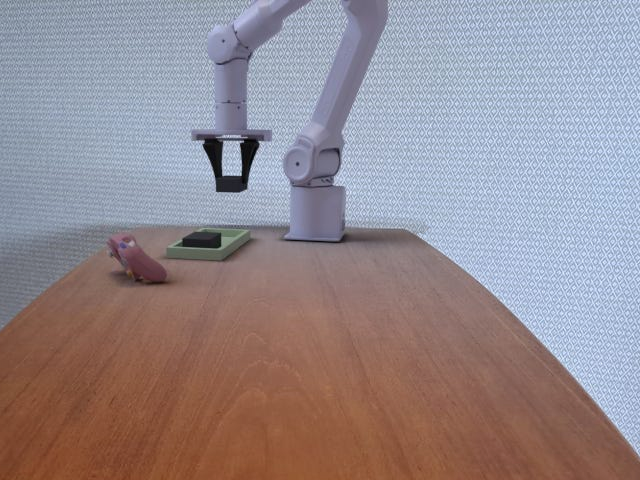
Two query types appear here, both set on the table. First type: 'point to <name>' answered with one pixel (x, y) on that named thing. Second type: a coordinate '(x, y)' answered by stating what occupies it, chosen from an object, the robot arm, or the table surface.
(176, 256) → the holder
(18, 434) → the table surface
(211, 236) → the pad seated
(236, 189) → the pad loose
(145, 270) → the video game controller
